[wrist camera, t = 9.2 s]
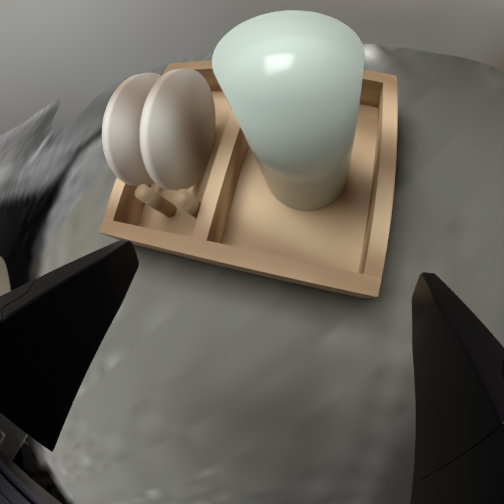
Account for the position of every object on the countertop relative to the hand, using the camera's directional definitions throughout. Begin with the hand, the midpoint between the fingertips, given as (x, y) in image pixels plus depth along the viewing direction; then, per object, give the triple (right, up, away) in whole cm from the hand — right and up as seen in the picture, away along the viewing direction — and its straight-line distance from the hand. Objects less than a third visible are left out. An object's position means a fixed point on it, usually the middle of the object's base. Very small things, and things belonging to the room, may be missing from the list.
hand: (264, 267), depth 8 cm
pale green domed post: (+3, +6, +11) cm, 13 cm away
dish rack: (0, +6, +13) cm, 14 cm away
